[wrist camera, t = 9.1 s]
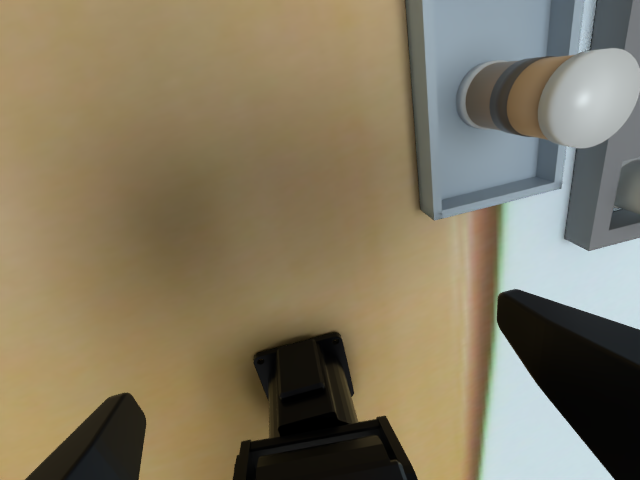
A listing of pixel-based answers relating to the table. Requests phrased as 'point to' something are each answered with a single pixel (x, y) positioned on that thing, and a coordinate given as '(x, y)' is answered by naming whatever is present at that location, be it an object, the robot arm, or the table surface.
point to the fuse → (629, 186)
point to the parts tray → (441, 90)
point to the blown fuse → (553, 96)
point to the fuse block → (607, 146)
